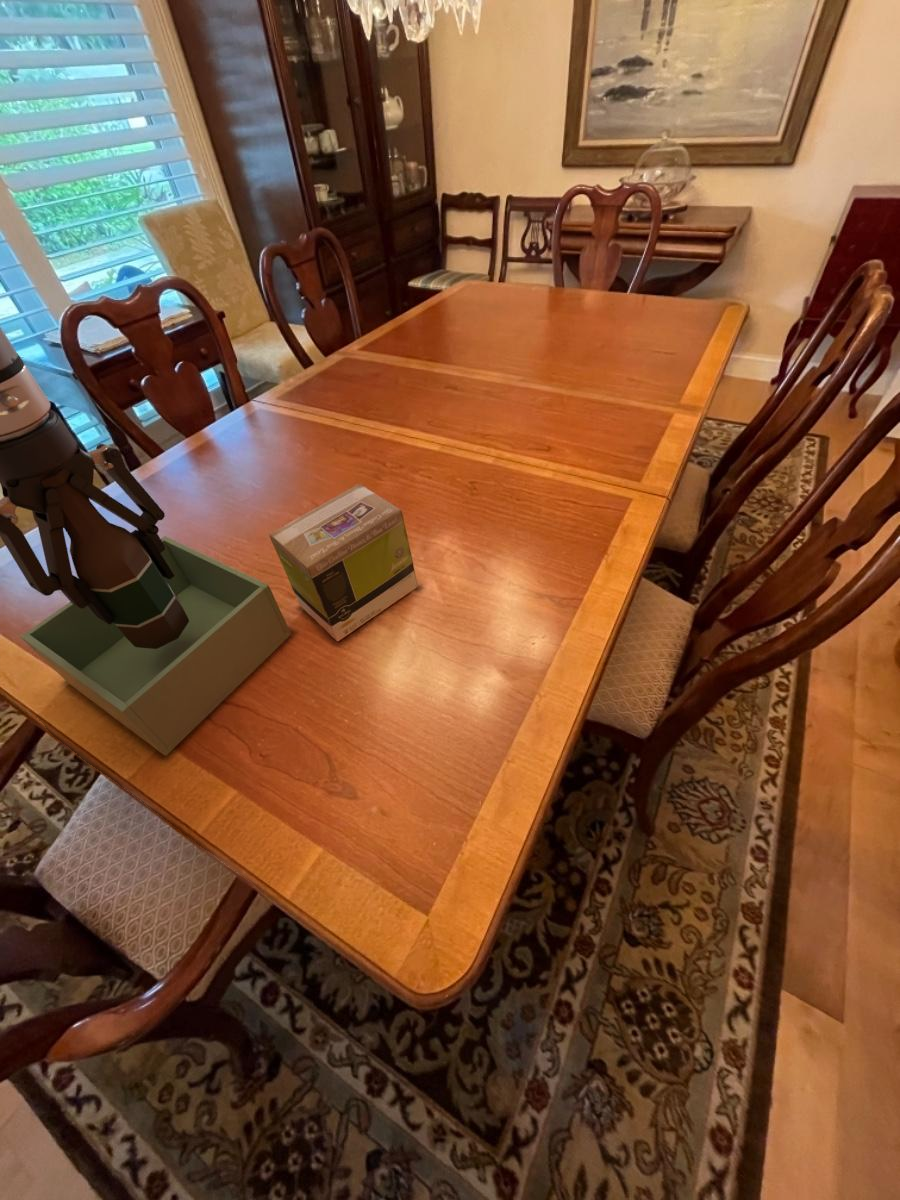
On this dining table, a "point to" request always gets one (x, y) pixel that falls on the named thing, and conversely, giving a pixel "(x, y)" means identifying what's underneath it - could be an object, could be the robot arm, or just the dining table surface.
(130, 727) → the open storage bin
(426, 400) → the dining table surface
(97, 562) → the beer bottle
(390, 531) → the tea box
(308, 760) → the dining table surface
